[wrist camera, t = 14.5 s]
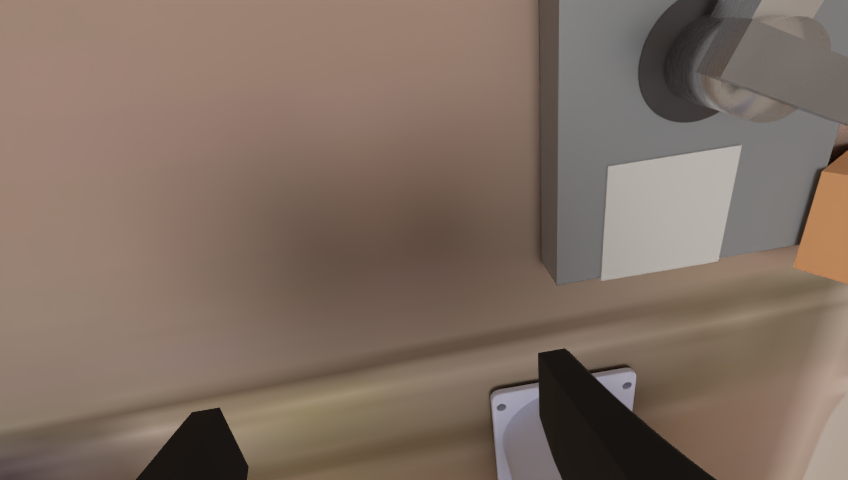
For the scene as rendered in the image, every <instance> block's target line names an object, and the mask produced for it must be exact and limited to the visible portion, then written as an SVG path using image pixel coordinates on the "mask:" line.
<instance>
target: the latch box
mask: <svg viewBox="0 0 848 480" xmlns="http://www.w3.org/2000/svg"><path fill="white" fill-rule="evenodd" d="M717 2H718V0H539V45H540V145H541V245H542V263H543V264H544V266H545V268H546V269H547V271H548V272H549V274H550V275H551V277H552V278H553V280H554V282H555V283H556V285H560V284H566V283H572V282H578V281H584V280H590V279H596V278H600V281H604V280H610V279H616V278H622V277H628V276H634V275H640V274H646V273H652V272H658V271H664V270H670V269H676V268H682V267H688V266H694V265H700V264H706V263H712V262H718V260H719V258H722V257H728V256H734V255H740V254H746V253H752V252H758V251H764V250H770V249H776V248H782V247H788V246H794V245H800V243H801V240H802V236H803V233H804V230H805V226H806V223H807V220H808V216H809V213H810V210H811V206H812V203H813V200H814V196H815V193H816V190H817V186H818V183H819V180H820V176H821V173H822V171H823V170H824V169H825V168H827V166H828V162H829V159H830V156H831V152H832V149H833V146H834V142H835V139H836V136H837V133H838V129H839V126H840V123H837V122H833V121H829V120H826V119H824V118H821V117H818V116H815V115H813V114H810V113H807V112H804V111H802V110H799V109H797V110H796V111H794V112H793V113H791V114H790V115H788V116H786V117H784V118H782V119H779V120H776V121H773V122H767V123H757V122H752V121H749V120H745V119H742V118H739V117H736V116H733V115H730V114H727V113H724V112H721V111H718V110H714V109H711V108H708V107H705V106H702V105H699V104H696V103H693V102H690V101H686V100H684V99H681V98H679V97H678V96H676V95H675V94H674V93H673V92H672V90H671V89H670V87H669V85H668V82H667V78H666V62H667V57H668V54H669V51H670V49H671V47H672V45H673V43H674V41H675V40H676V38H677V37H678V36H679V34H680V33H681V32H682V31H683V30H684V29H685V28H686V27H687V26H688V25H689V24H691V23H692V22H693V21H695V20H697V19H698V18H700V17H702V16H705V15H708V14H712V12H713V10H714V8H715V6H716V4H717ZM813 19H815V20H816V21H818V22H819V23H821V24H822V25H823V27H824V28H825V29H826V31H827V33H828V35H829V38H830V43H831V51H833V52H836V53H838V54H841V55H843V56H845V57H848V0H824V1H823V3H822V4H821V6H820V8H819V9H818V11H817V13H816V14H815V16H814V17H813Z"/></svg>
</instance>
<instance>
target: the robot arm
mask: <svg viewBox="0 0 848 480" xmlns="http://www.w3.org/2000/svg"><path fill="white" fill-rule="evenodd" d="M538 370H539V383H534V384H528V385H522V386H516V387H510V388H505V389H499V390H496V391H494V392H493V393H492V394H491V397H490V399H491V410H492V422H493V433H494V445H495V456H496V468H497V479H498V480H716V479H715V478H713V477H712V476H711V475H709V474H708V473H707V472H705V471H704V470H703V469H701V468H700V467H699V466H697V465H696V464H695V463H694V462H692V461H691V460H690V459H688V458H687V457H686V456H685V455H683V454H682V453H681V452H680V451H678V450H677V449H676V448H675V447H673V446H672V445H671V444H670V443H668V442H667V441H666V440H665V439H663V438H662V437H661V436H660V435H659V434H657V433H656V432H655V431H654V430H653V429H651V428H650V427H649V426H648V425H647V424H646V423H644V422H643V421H642V420H641V419H640V418H639V417H638V416H637V415H635V414H634V413H633V412H632V409H633V401H634V393H635V384H636V374H635V372H634V371H633V370H632V369H631V368H620V369H615V370H609V371H603V372H597V373H590V372H589V371H588V370H587V369H586V368H585V367H584V366H583V365H582V364H581V363H580V362H579V361H578V360H577V359H576V358H575V357H574V356H573V355H572V354H571V353H570V352H569V351H567V350H566V349H559V350H553V351H548V352H542V353H538ZM500 404H502V405H500ZM247 474H248V465H247V463H246V461H245V459H244V457H243V455H242V453H241V451H240V449H239V446H238V444H237V442H236V440H235V438H234V436H233V434H232V432H231V430H230V428H229V426H228V424H227V422H226V420H225V418H224V416H223V414H222V412H221V410H220V408H214V409H209V410H203V411H197V412H192V413H191V414H190V415H189V417H188V418H187V419H186V420H185V421H184V422H183V423H182V425H181V426H180V427H179V428H178V429H177V431H176V432H175V433H174V434H173V435H172V437H171V438H170V439H169V440H168V442H167V443H166V444H165V445H164V446H163V448H162V449H161V450H160V451H159V452H158V454H157V455H156V456H155V457H154V459H153V460H152V461H151V462H150V463H149V465H148V466H147V467H146V468H145V469H144V471H143V472H142V473H141V474H140V475H139V476H138V478H137V479H136V480H247Z"/></svg>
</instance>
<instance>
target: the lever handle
mask: <svg viewBox="0 0 848 480" xmlns="http://www.w3.org/2000/svg"><path fill="white" fill-rule="evenodd" d="M823 1H824V0H718V2H717V4H716V6H715V8H714V10H713V12H712V14H708V15H705V16H702V17H700V18H698V19H697V20H695V21H693V22H692V23H691V24H689V25H688V26H687V27H686V28H685V29H684V30H683V31H682V32H681V33H680V34H679V36H678V37H677V38H676V40H675V41H674V43H673V45H672V47H671V49H670V51H669V54H668V57H667V62H666V78H667V82H668V85H669V87H670V89H671V90H672V92H673V93H674V94H675V95H676V96H678V97H679V98H681V99H684V100H686V101H690V102H693V103H696V104H699V105H702V106H705V107H708V108H711V109H714V110H718V111H721V112H724V113H727V114H730V115H733V116H736V117H739V118H742V119H745V120H749V121H752V122H757V123H767V122H773V121H776V120H779V119H782V118H784V117H786V116H788V115H790V114H791V113H793V112H794V111H796V110H797V109H799V110H802V111H804V112H807V113H810V114H813V115H815V116H818V117H821V118H824V119H826V120H829V121H833V122H837V123H840V124H844V125H848V57H845V56H843V55H841V54H838V53H836V52H833V51H831V43H830V38H829V35H828V33H827V31H826V29H825V28H824V27H823V25H822V24H821V23H819V22H818V21H816V20H815V19H813V17H814V16H815V14H816V13H817V11H818V9H819V8H820V6H821V4H822V3H823Z"/></svg>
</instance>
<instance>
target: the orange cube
mask: <svg viewBox="0 0 848 480" xmlns="http://www.w3.org/2000/svg"><path fill="white" fill-rule="evenodd" d="M793 268H796V269H800V270H803V271H806V272H810V273H813V274H816V275H820V276H823V277H826V278H830V279H833V280H836V281H840V282H843V283H846V284H848V150H847V151H846V152H845V153H844V154H843V155H841V156H840V157H839V158H838V159H836V160H835V161H834V162H833V163H831V164H830V165H829V166H828V167H827V168H825V169H824V170H823V171H822V173H821V176H820V180H819V183H818V186H817V190H816V193H815V196H814V200H813V203H812V206H811V210H810V213H809V216H808V220H807V223H806V226H805V230H804V233H803V236H802V240H801V243H800V246H799V250H798V253H797V256H796V260H795V263H794V266H793Z"/></svg>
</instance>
